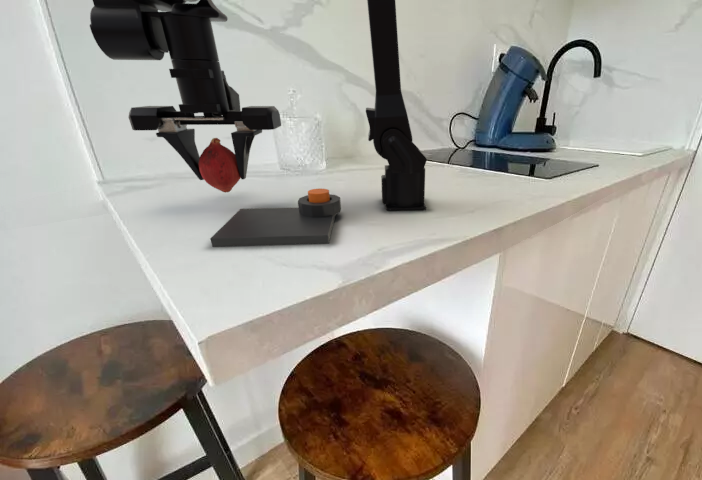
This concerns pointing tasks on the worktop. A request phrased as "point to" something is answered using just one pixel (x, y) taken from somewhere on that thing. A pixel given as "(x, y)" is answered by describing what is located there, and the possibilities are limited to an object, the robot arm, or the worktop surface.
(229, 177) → the onion
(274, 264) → the worktop surface
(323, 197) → the button
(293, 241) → the scale
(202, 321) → the worktop surface
